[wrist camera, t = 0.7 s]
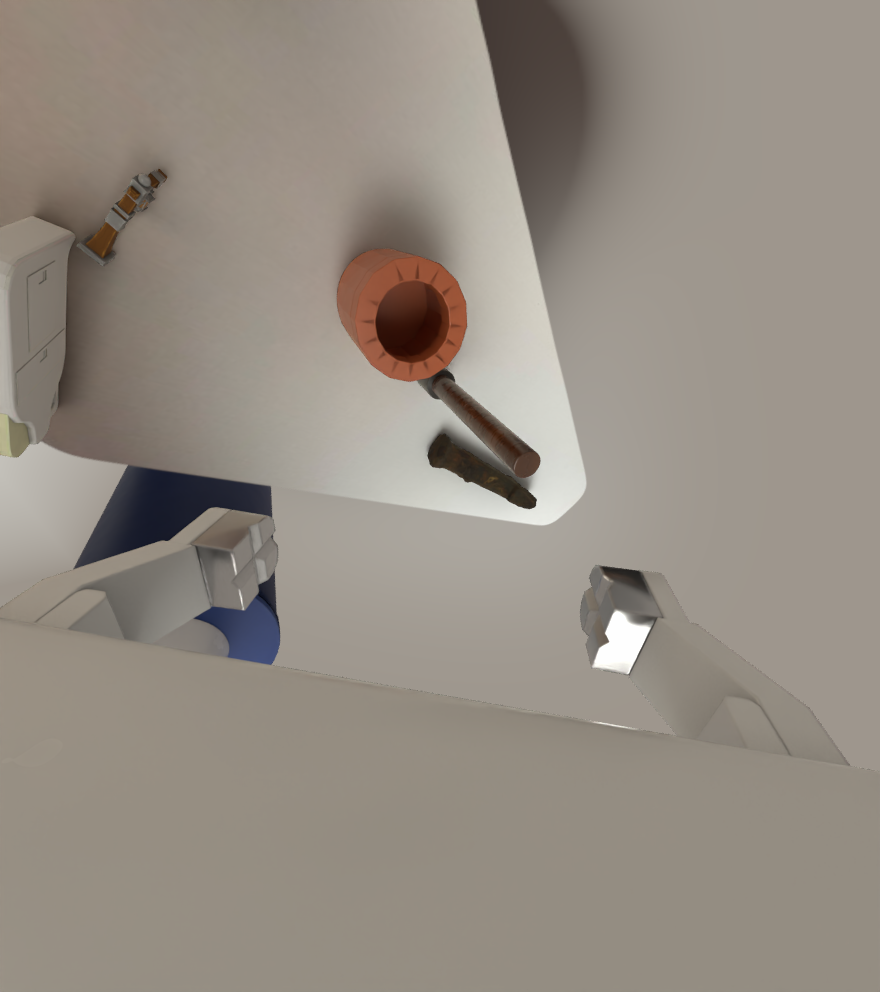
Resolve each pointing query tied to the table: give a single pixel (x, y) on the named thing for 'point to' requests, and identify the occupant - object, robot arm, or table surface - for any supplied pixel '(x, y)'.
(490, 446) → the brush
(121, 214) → the wooden post with brackets
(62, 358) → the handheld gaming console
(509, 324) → the table surface
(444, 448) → the hand tool
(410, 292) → the terracotta plant pot
